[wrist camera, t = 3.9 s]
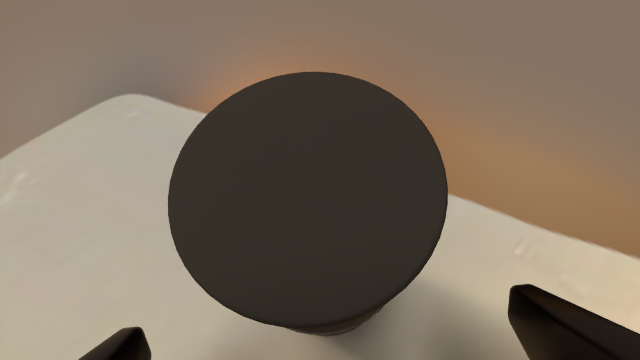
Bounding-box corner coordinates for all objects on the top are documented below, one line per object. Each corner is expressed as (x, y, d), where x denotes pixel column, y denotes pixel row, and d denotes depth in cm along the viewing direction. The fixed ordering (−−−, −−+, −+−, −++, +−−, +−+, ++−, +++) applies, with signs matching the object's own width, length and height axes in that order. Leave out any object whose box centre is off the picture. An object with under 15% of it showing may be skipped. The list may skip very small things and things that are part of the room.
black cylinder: (389, 318, 16) (513, 270, 5) (296, 349, 16) (175, 382, 4) (357, 229, 18) (385, 43, 7) (274, 255, 18) (154, 104, 6)
